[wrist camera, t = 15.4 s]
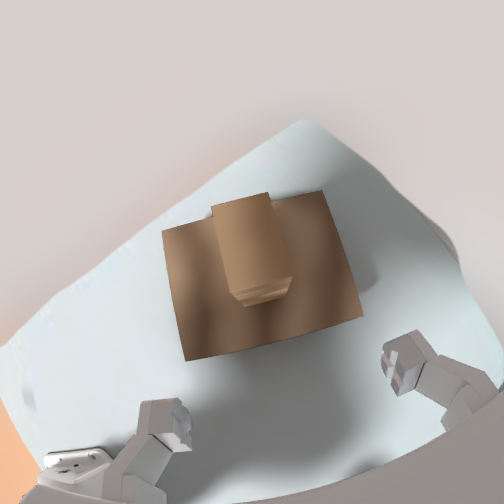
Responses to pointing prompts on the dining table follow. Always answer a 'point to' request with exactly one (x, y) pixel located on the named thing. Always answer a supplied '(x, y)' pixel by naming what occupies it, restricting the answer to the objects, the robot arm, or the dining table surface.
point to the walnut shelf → (267, 313)
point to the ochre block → (252, 249)
